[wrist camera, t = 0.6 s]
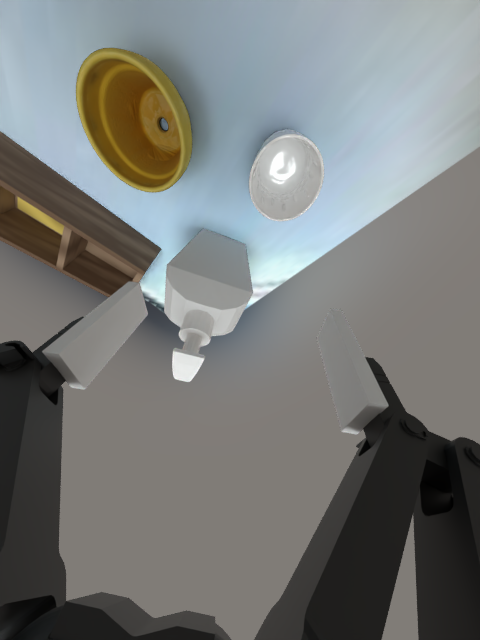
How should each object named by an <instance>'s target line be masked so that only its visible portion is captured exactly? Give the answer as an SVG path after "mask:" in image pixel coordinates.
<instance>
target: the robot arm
mask: <svg viewBox="0 0 480 640" xmlns="http://www.w3.org/2000/svg"><path fill="white" fill-rule="evenodd" d="M147 315H148V312H147V309H146V305H145V301H144V298H143V294H142V290H141V286H140V283H138V282H130V281H129V282H127V283H126V284H125V285H124V286H123V287H121V288H120V289H119V290H118V291H116V292H115V293H114V294H113V295H111V296H110V297H109V298H108V299H106V300H105V301H104V302H103V303H101V304H100V305H99V306H98V307H97V308H95V309H94V310H93V311H91V312H90V313H89V314H88V315H87V316H85V317H81V318H79V319H77V320H75V321H73V322H71V323H70V324H69V325H68V326H66V327H65V328H64V329H62V330H61V331H60V332H58V334H56V335H55V336H53V337H52V338H51V339H49V340H48V341H47V342H46V343H44V344H43V345H42V346H40V347H39V348H38V349H37V350H35V351H34V352H33V353H32V352H31V351H30V350H29V348H28V347H27V346H26V345H25V344H24V343H23V342H21V341H9V342H4V343H2V344H0V640H231V639H230V637H229V636H228V635H227V634H226V632H225V631H224V630H223V629H222V628H221V627H219V626H218V625H217V624H216V623H215V617H213V616H209V615H205V614H200V613H195V612H191V611H183V612H180V613H175V614H171V615H167V616H163V617H159V618H153V617H151V616H150V615H149V614H147V613H146V612H145V611H144V610H143V609H141V608H140V607H139V606H138V605H136V604H135V603H134V602H133V601H132V600H130V599H129V598H126V597H121V596H117V595H112V594H108V593H103V592H101V593H96V594H93V595H89V596H85V597H81V598H77V599H73V600H69V601H66V570H65V565H64V562H63V560H62V558H61V557H60V554H59V515H60V514H59V513H60V482H61V481H60V480H61V448H62V415H63V414H62V413H63V388H62V386H61V385H62V384H63V383H64V382H65V381H66V382H67V383H68V384H69V385H70V386H71V387H73V388H79V389H86V388H87V387H88V386H89V384H90V383H91V382H92V380H93V379H94V378H95V377H96V376H97V375H98V374H99V372H100V371H101V370H102V369H103V368H104V366H105V365H106V364H107V363H108V362H109V360H110V359H111V358H112V357H113V356H114V354H115V353H116V352H117V351H118V350H119V348H120V347H121V346H122V345H123V344H124V342H125V341H126V340H127V339H128V338H129V336H130V335H131V334H132V333H133V332H134V330H135V329H136V328H137V327H138V325H139V324H140V323H141V322H142V321H143V320H144V318H145V317H146V316H147ZM317 342H318V346H319V349H320V353H321V357H322V361H323V364H324V368H325V372H326V376H327V380H328V383H329V387H330V391H331V395H332V398H333V402H334V406H335V410H336V413H337V417H338V421H339V424H340V428H341V432H346V433H352V434H358V433H359V432H360V431H362V430H363V429H364V432H365V435H366V438H365V439H364V440H362V441H361V442H360V443H359V444H358V445H357V446H356V447H358V448H359V449H358V451H357V453H356V455H355V457H354V459H353V461H352V463H351V464H350V466H349V468H348V470H347V472H346V474H345V476H344V478H343V480H342V482H341V484H340V486H339V488H338V489H337V492H336V493H335V495H334V497H333V499H332V501H331V503H330V505H329V507H328V509H327V510H326V512H325V515H324V516H323V518H322V520H321V522H320V524H319V526H318V528H317V530H316V532H315V534H314V535H313V537H312V539H311V541H310V543H309V545H308V547H307V549H306V551H305V553H304V555H303V556H302V558H301V561H300V562H299V564H298V566H297V568H296V570H295V572H294V574H293V576H292V578H291V580H290V581H289V583H288V585H287V587H286V589H285V591H284V593H283V595H282V596H281V598H280V600H279V601H278V602H277V603H276V604H275V605H274V606H273V608H272V609H271V610H270V612H269V614H268V615H267V617H266V619H265V620H264V622H263V624H262V626H261V628H260V630H259V632H258V634H257V635H256V637H255V639H254V640H381V639H382V634H383V631H384V627H385V623H386V619H387V615H388V611H389V607H390V602H391V599H392V594H393V591H394V587H395V583H396V579H397V575H398V571H399V567H400V563H401V559H402V555H403V551H404V546H405V542H406V539H407V535H408V531H409V527H410V523H411V518H412V515H413V516H414V540H415V561H416V562H415V563H416V586H417V611H418V635H419V640H480V445H479V444H478V443H476V442H475V441H473V440H470V439H467V438H462V437H459V438H457V439H455V440H453V441H450V440H447V439H445V438H443V437H441V436H438V435H436V434H434V433H431V432H429V431H428V430H427V428H426V427H425V426H424V425H423V424H422V423H421V422H420V421H419V420H418V419H417V418H415V417H414V416H412V415H410V414H408V413H407V412H406V411H405V409H404V407H403V405H402V404H401V402H400V400H399V398H398V396H397V395H396V393H395V391H394V389H393V387H392V385H391V384H390V382H389V380H388V378H387V377H386V374H385V373H384V371H383V369H382V367H381V366H380V365H379V364H378V363H377V362H376V361H375V360H374V359H373V358H367V357H365V356H364V354H363V352H362V350H361V348H360V346H359V344H358V342H357V340H356V338H355V336H354V334H353V332H352V330H351V328H350V326H349V324H348V322H347V320H346V318H345V316H344V314H343V312H342V310H338V309H331V308H330V309H329V312H328V314H327V316H326V318H325V321H324V323H323V325H322V327H321V330H320V332H319V334H318V336H317Z"/></svg>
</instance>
